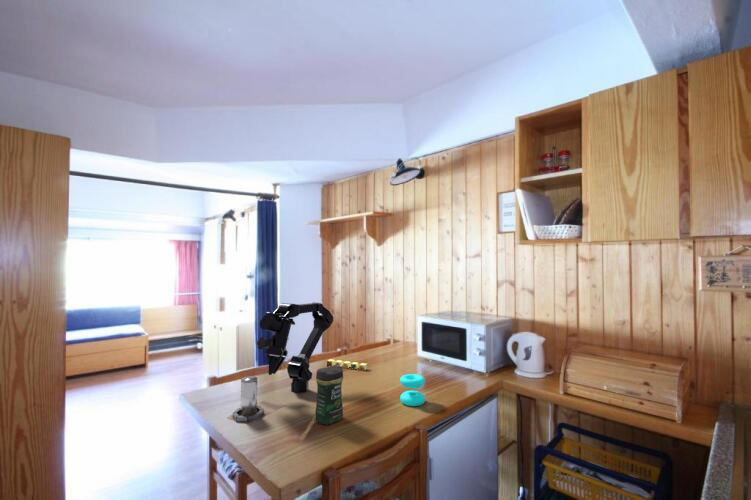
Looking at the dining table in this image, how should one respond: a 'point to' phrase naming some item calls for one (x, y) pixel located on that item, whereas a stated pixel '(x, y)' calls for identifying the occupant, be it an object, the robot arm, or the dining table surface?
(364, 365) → the yellow segmented block row
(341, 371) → the coffee jar
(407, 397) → the donuts
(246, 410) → the cylinder
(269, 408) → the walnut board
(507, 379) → the dining table surface
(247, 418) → the ring collar
